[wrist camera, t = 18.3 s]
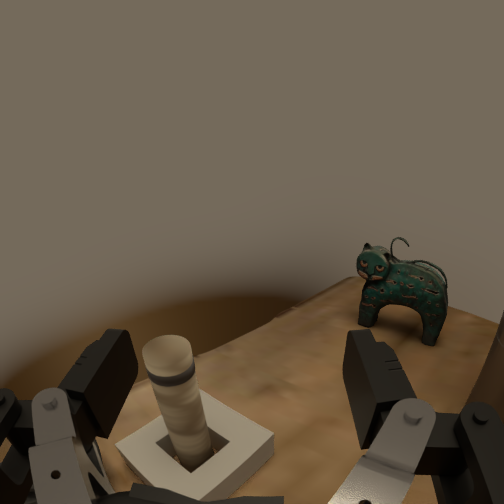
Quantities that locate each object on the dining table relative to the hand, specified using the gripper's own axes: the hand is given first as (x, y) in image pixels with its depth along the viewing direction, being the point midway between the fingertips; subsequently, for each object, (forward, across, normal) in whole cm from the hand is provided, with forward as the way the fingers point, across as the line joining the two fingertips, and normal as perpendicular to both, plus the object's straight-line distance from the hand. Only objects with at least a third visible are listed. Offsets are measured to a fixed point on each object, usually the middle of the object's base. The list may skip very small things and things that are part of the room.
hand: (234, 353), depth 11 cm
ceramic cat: (+43, -27, +30) cm, 59 cm away
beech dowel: (+13, +8, +30) cm, 34 cm away
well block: (+13, +8, +30) cm, 34 cm away
